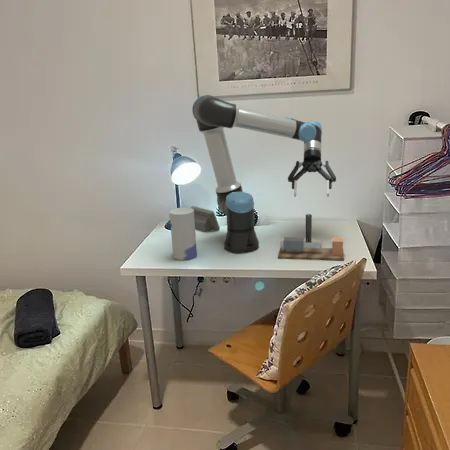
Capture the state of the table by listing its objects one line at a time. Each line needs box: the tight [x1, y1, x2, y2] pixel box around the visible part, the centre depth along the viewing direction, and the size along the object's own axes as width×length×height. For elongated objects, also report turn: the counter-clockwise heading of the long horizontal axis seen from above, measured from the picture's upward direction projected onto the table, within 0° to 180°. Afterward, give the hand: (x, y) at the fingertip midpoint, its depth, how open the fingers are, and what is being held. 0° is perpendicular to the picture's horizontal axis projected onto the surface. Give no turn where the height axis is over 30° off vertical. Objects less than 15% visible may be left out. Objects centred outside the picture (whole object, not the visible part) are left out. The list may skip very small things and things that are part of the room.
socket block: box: [331, 236, 344, 256], centre depth 203 cm, size 4×5×6 cm
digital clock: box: [190, 205, 221, 233], centre depth 243 cm, size 16×9×11 cm, turn 31°
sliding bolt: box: [279, 213, 323, 249], centre depth 204 cm, size 17×2×14 cm, turn 78°
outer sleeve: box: [282, 236, 305, 254], centre depth 207 cm, size 8×4×6 cm, turn 78°
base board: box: [277, 246, 345, 262], centre depth 206 cm, size 26×11×1 cm, turn 78°
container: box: [169, 206, 198, 261], centre depth 209 cm, size 10×10×20 cm
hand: (311, 195), depth 211 cm, fingers open, 13 cm apart
